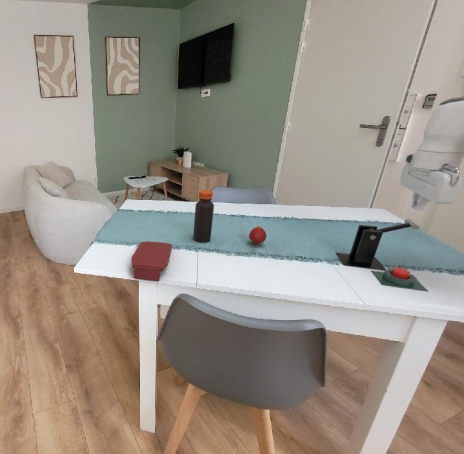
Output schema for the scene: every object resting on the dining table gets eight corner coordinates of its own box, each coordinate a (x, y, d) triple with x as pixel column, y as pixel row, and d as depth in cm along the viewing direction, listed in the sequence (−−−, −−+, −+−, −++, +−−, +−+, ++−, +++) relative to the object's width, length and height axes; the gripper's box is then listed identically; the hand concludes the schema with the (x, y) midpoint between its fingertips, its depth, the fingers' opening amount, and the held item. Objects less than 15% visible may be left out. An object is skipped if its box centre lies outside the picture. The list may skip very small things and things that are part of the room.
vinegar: (191, 236, 122) (194, 189, 114) (207, 235, 121) (212, 189, 113) (195, 243, 115) (199, 194, 107) (212, 242, 115) (217, 194, 107)
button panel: (411, 279, 87) (415, 270, 85) (426, 294, 80) (431, 285, 79) (369, 273, 90) (372, 265, 89) (380, 288, 83) (384, 279, 82)
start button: (404, 273, 85) (406, 268, 84) (411, 280, 82) (413, 275, 81) (388, 271, 86) (390, 266, 85) (394, 278, 83) (396, 273, 82)
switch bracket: (374, 259, 97) (386, 224, 92) (386, 273, 90) (400, 236, 85) (334, 255, 101) (344, 221, 96) (342, 268, 94) (354, 232, 89)
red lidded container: (141, 252, 118) (127, 276, 95) (141, 240, 117) (128, 262, 94) (171, 255, 114) (165, 281, 91) (172, 243, 113) (166, 267, 90)
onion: (249, 240, 115) (252, 221, 112) (265, 243, 112) (269, 224, 109) (246, 245, 111) (249, 226, 108) (263, 249, 108) (266, 229, 105)
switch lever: (411, 223, 88) (409, 216, 88) (420, 230, 84) (418, 223, 84) (361, 235, 94) (359, 228, 94) (367, 241, 90) (365, 234, 90)
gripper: (480, 169, 69) (454, 223, 75) (430, 155, 86) (413, 199, 92) (444, 168, 71) (422, 220, 77) (403, 154, 89) (387, 198, 94)
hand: (417, 209), depth 85 cm, fingers closed
